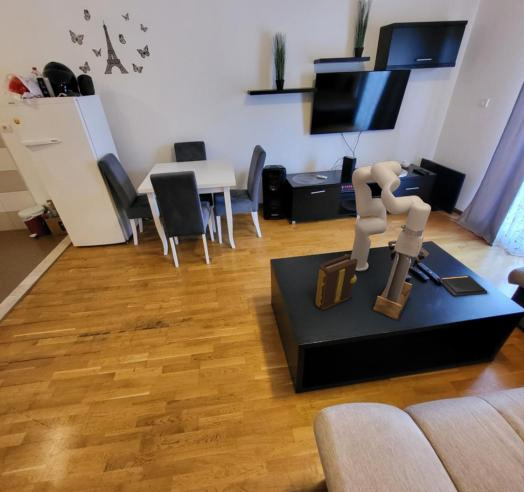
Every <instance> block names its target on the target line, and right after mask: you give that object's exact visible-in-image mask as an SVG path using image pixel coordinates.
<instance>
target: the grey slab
mask: <svg viewBox="0 0 524 492" xmlns="http://www.w3.org/2000/svg"><path fill="white" fill-rule="evenodd" d="M411 264H412V256H408V255H405V254H402V253H399V252H396V254H395V257H394V259H393V263H392V267H391V270H390V274H389V277H388V280H387V283H386V287H385V288H386V290H385V289H384V290H385V295H384V298H385V299H386V298H387V297H388V300H390V301H392V302H395V303H397V302H398V299H399V296H400V293H401V290H402V288H403V285H404V282H406V279H407V276H408V273H409V269H410V267H411Z"/></svg>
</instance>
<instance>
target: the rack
mask: <svg viewBox="0 0 524 492" xmlns="http://www.w3.org/2000/svg"><path fill="white" fill-rule="evenodd" d="M412 287H413V284H412V283H409V282H407V281H405V282H404V285H403V288H402V290H401V293H400V296H399V299H398V302H397V303H395V302H392V301H390V300H388V297H387V298H386V299H385V298H384V295H385V290H386V287H385V288H384V290H383V291H382V293H381V295H377V296H376V300H375V303H374V306H373V307H372V310H373V311H376V312H377V313H380V314H382V315H384V316H387V317H388V318H392V319H393V320H396V321H398V320H399V318H400V315H401V313H402V311H403V309H404V307H405V305H406V303H407V301H408V300H409V297H410V294H411V292H412Z"/></svg>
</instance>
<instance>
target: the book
mask: <svg viewBox="0 0 524 492" xmlns="http://www.w3.org/2000/svg"><path fill="white" fill-rule="evenodd" d="M351 255H352V254H351V253H347V254H346V255H345V254H344V255H342V256H339V257H336V258H334V259H333V258H332V259H331V260H328V261H325V262H322V263H320V264H319V267H318V273H317V274H318V275H317V285H316V292H315V301H314V304H315V306H316V307H317V309H319V310H321V311H322V310H326V309H329V308H331V307H334V306H335V305H338V304H340V303H343V302H345V301H347V300H350V299H351V294H352V289H353V285H354V284H355V283H357V279H358V278H357V275H356V266H357V261H358V260H357V259H352V260H350V259H351Z"/></svg>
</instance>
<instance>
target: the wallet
mask: <svg viewBox="0 0 524 492" xmlns="http://www.w3.org/2000/svg"><path fill="white" fill-rule="evenodd" d="M436 279H437V281H438V282H439V283H440V285H442V286H443V287H444V289H445V290H447V292H448V293H449V294H450V295H451V296H453V297H463V296H473V295H474V296H475V295H487V294H488V291H487V290H486V288H484V287H483V286H482V285H481V284H480V283H479V282H477V281H476V280H475V279H474V278H473V277H472V276H470V275H463V276H450V277H437V278H436ZM441 281H442V282H441Z"/></svg>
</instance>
